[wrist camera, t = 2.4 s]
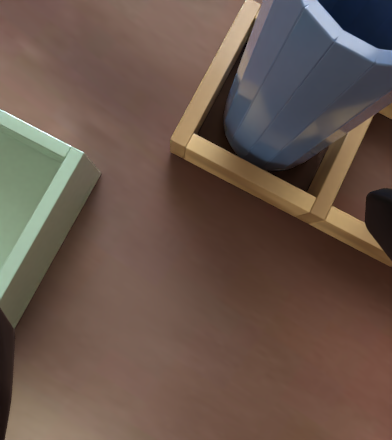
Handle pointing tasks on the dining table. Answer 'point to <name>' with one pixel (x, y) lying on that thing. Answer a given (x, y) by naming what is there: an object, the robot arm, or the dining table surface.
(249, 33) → the wooden rectangular frame
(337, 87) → the tumbler
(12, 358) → the robot arm
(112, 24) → the dining table surface
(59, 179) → the basin
